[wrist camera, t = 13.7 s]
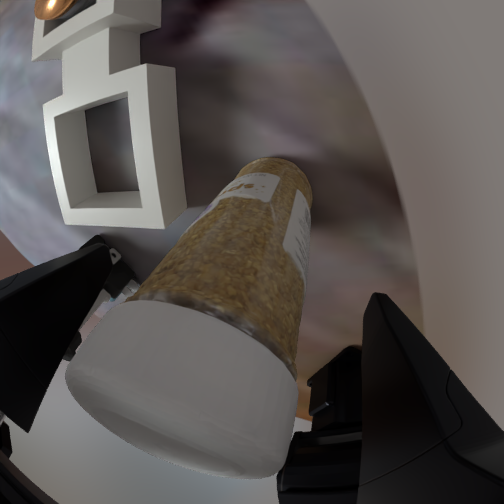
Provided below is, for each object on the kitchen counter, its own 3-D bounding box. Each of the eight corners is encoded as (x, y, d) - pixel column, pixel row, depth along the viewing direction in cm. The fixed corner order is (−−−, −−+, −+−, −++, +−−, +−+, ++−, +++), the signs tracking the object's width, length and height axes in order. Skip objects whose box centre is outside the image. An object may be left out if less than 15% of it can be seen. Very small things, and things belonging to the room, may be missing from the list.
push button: (160, 276, 20) (87, 376, 12) (136, 305, 23) (76, 389, 14) (100, 219, 19) (7, 296, 10) (84, 256, 21) (12, 327, 13)
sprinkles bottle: (249, 143, 14) (25, 328, 2) (327, 177, 14) (341, 467, 3) (223, 213, 16) (81, 420, 5) (293, 243, 16) (237, 488, 5)
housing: (187, 208, 17) (151, 242, 13) (90, 207, 18) (51, 234, 14) (177, -55, 7) (141, -81, 3) (77, -8, 9) (35, -14, 5)
